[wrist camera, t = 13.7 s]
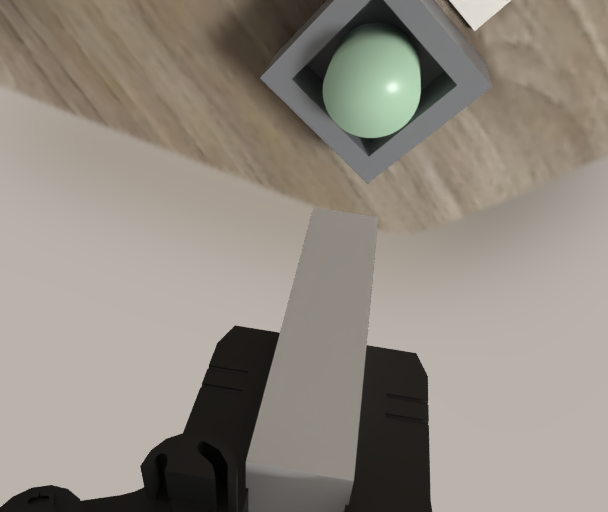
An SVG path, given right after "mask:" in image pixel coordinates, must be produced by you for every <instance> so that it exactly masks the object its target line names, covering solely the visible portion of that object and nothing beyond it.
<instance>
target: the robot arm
mask: <svg viewBox="0 0 608 512" xmlns="http://www.w3.org/2000/svg"><path fill="white" fill-rule="evenodd" d="M377 228H378V217H376V216H369V215H362V214H355V213H348V212H341V211H334V210H327V209H320V208H313V211H312V215H311V218H310V223H309V226H308V230H307V233H306V237H305V241H304V245H303V249H302V252H301V256H300V260H299V263H298V268H297V271H296V275H295V278H294V283H293V286H292V290H291V293H290V297H289V301H288V305H287V309H286V312H285V316H284V320H283V324H282V328H281V331H280V333H277V332H271V331H265V330H259V329H253V328H246V327H240V326H234V327H233V328H232V329H231V330H230V331H229V332H228V333H227V334H226V335H225V336H224V337H223V338H222V339H221V340H220V341H219V342H218V343H217V346H216V348H215V351H214V353H213V356H212V359H211V361H210V364H209V369H208V370H207V372H206V374H205V377H204V380H203V382H202V387H201V388H200V390H199V393H198V395H197V398H196V401H195V403H194V406H193V409H192V412H191V414H190V416H189V419H188V422H187V424H186V427H185V430H184V432H183V434H180V435H177V436H174V437H171V438H168V439H166V440H164V441H163V442H162V443H160V444H159V445H158V446H156V447H155V448H154V449H152V450H151V451H150V452H149V454H148V456H147V457H146V459H145V460H144V462H143V463H142V465H141V472H142V477H143V482H144V488H142V489H140V490H138V491H135V492H132V493H128V494H124V495H120V496H113V497H105V498H98V499H91V500H84V501H80V499H79V498H78V497H77V496H75V495H74V494H73V493H72V492H71V491H69V490H68V489H65V488H60V487H57V486H53V485H50V486H42V487H34V488H31V489H28V490H26V491H24V492H22V493H20V494H18V495H16V496H14V497H12V498H11V499H10V500H8V501H7V502H6V503H5V504H4V505H3V506H1V507H0V512H432V508H431V501H430V465H429V464H430V461H429V425H428V421H429V419H428V418H429V417H428V376H427V374H426V372H425V370H424V368H423V366H422V364H421V362H420V360H419V358H418V356H417V354H416V353H411V352H405V351H399V350H393V349H386V348H380V347H374V346H368V345H367V335H368V324H369V313H370V303H371V291H372V281H373V270H374V260H375V249H376V238H377Z"/></svg>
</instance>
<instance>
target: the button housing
mask: <svg viewBox="0 0 608 512" xmlns="http://www.w3.org/2000/svg"><path fill="white" fill-rule="evenodd" d="M372 22H381V23H387V24H391V25H393V26H396V27H397V28H399V29H401V30H402V31H404V32H405V33H406V34H407V35H408V36H409V37H410V38H411V39H412V41H413V42H414V44H415V46H416V48H417V50H418V53H419V58H420V78H421V93H420V100H419V104H418V107H417V109H416V111H415V113H414V115H413V116H412V118H411V119H410V120H409V121H408V123H406V124H405V125H404V126H403V127H402V128H401V129H399V130H398V131H396V132H394V133H392V134H390V135H387V136H383V137H378V138H364V137H359V136H355V135H353V134H350V133H348V132H346V131H345V130H343V129H342V128H340V127H339V126H338V125H337V124H336V123H335V122H334V121H333V120H332V118H331V117H330V115H329V113H328V111H327V109H326V107H325V104H324V99H323V83H324V78H325V75H326V73H327V70H328V67H329V64H330V62H331V59H332V56H333V54H334V51H335V49H336V47H337V45H338V43H339V42H340V40H341V39H342V38H343V37H344V36H345V35H346V34H347V33H348V32H349V31H351V30H352V29H354V28H356V27H358V26H360V25H363V24H366V23H372ZM260 79H261V80H262V81H263V82H264V83H265V84H266V85H267V86H268V87H269V88H270V89H271V90H272V91H273V92H275V93H276V94H277V95H278V96H279V97H280V98H281V99H282V100H283V101H284V102H285V103H286V104H287V105H288V106H289V107H290V108H291V109H292V110H293V111H294V112H295V113H296V114H297V115H298V116H299V117H300V118H301V119H302V120H303V121H304V122H305V123H306V124H307V125H308V126H309V127H310V128H311V129H312V130H313V131H314V132H315V133H316V134H317V135H318V136H319V137H320V138H321V139H322V140H323V141H324V142H325V143H326V144H328V145H329V146H330V147H331V148H332V149H333V150H334V151H335V152H336V153H337V154H338V155H339V156H340V157H341V158H342V159H343V160H344V161H345V162H346V163H347V164H348V165H349V166H350V167H351V168H352V169H353V170H354V171H355V172H356V173H357V174H358V175H359V176H360V177H361V178H362V179H363V180H364V181H365V182H366V183H369V182H370V181H371V180H373V179H374V178H375V177H376V176H378V175H379V174H380V173H382V172H383V171H384V170H385V169H387V168H388V167H389V166H391V165H392V164H393V163H394V162H396V161H397V160H398V159H400V158H401V157H402V156H403V155H405V154H406V153H407V152H409V151H410V150H411V149H412V148H414V147H415V146H416V145H418V144H419V143H420V142H421V141H423V140H424V139H425V138H427V137H428V136H429V135H430V134H432V133H433V132H434V131H436V130H437V129H438V128H439V127H441V126H442V125H443V124H445V123H446V122H447V121H449V120H450V119H451V118H452V117H454V116H455V115H456V114H458V113H459V112H460V111H461V110H463V109H464V108H465V107H467V106H468V105H469V104H470V103H472V102H473V101H474V100H476V99H477V98H478V97H479V96H481V95H482V94H483V93H485V92H486V91H487V90H488V89H490V88H491V87H492V84H491V81H490V77H489V74H488V70H487V67H486V64H485V61H484V60H483V59H482V57H481V56H480V55H479V54H478V53H477V51H476V50H475V49H474V48H473V47H472V45H471V44H470V43H469V42H468V41H467V39H466V38H465V37H464V36H463V35H462V33H461V32H460V31H459V30H458V28H457V27H456V26H455V25H454V24H453V22H452V21H451V20H450V19H449V18H448V16H447V15H446V14H445V13H444V12H443V10H442V9H441V8H440V7H439V6H438V4H437V3H436V2H435V1H434V0H326V1H325V2H324V3H323V4H322V5H321V6H320V7H319V8H318V9H317V10H316V12H315V13H314V14H313V15H312V16H311V17H310V18H309V19H308V20H307V21H306V22H305V23H304V24H303V25H302V26H301V27H300V28H299V30H298V31H297V32H296V33H295V34H294V35H293V36H292V37H291V38H290V39H289V40H288V41H287V42H286V43H285V44H284V45H283V46H282V48H281V49H280V50H279V51H278V52H277V53H276V54H275V55H274V56H273V58H272V60H271V61H270V63H269V64H268V66H267V68H266V69H265V71H264V72H263V74H262V76H261V77H260Z"/></svg>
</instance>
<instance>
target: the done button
mask: <svg viewBox="0 0 608 512" xmlns="http://www.w3.org/2000/svg"><path fill="white" fill-rule="evenodd" d="M420 93H421V78H420V58H419V53H418V50H417V48H416V46H415V44H414V42H413V41H412V39H411V38H410V37H409V36H408V35H407V34H406V33H405V32H404V31H402V30H401V29H399V28H397V27H396V26H393V25H391V24H387V23H381V22H372V23H366V24H363V25H360V26H358V27H356V28H354V29H352V30H351V31H349V32H348V33H347V34H346V35H345V36H344V37H343V38H342V39H341V40H340V42H339V43H338V45H337V47H336V49H335V51H334V54H333V56H332V59H331V62H330V64H329V67H328V70H327V73H326V75H325V78H324V83H323V99H324V104H325V107H326V109H327V111H328V113H329V115H330V117H331V118H332V120H333V121H334V122H335V123H336V124H337V125H338V126H339V127H340V128H342V129H343V130H345V131H346V132H348V133H350V134H353V135H355V136H359V137H364V138H378V137H383V136H387V135H390V134H392V133H394V132H396V131H398V130H399V129H401V128H402V127H403V126H404V125H405V124H406V123H408V121H409V120H410V119H411V118H412V116H413V115H414V113H415V111H416V109H417V107H418V104H419V100H420Z"/></svg>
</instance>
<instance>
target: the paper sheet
mask: <svg viewBox="0 0 608 512" xmlns="http://www.w3.org/2000/svg"><path fill="white" fill-rule="evenodd" d="M509 1H511V0H450V2H451V3H452V4H453V5H454V7H455V8H456V9H457V10H458V11H459V13H460V14H461V15H462V16H463V18H464V19H465V20H466V21H467V22H468V24H469V25H470V26H471V27H472V29H473V30H474V31H475V30H477V29H478V28H479V27H480V26H481V25H482V24H484V23H485V22H486V21H487V20H488V19H489V18H491V17H492V16H493V15H494V14H495V13H497V12H498V11H499V10H500V9H501V8H502V7H504V6H505V5H506V4H507V3H508V2H509Z"/></svg>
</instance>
